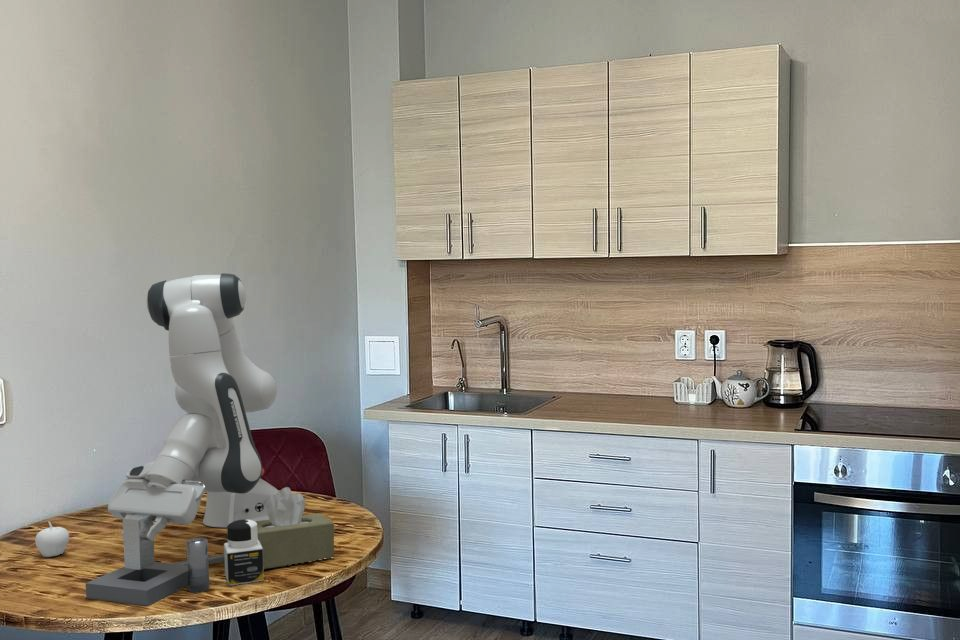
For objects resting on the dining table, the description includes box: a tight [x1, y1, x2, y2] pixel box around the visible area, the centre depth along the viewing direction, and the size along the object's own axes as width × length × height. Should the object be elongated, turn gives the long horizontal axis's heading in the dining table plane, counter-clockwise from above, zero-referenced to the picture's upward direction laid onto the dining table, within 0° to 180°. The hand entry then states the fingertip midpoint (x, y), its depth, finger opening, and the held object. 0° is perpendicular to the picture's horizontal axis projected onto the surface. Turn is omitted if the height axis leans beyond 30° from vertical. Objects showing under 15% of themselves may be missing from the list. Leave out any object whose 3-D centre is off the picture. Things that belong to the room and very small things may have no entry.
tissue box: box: [255, 486, 335, 570], centre depth 199 cm, size 19×10×16 cm, turn 118°
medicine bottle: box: [223, 520, 265, 587], centre depth 188 cm, size 7×7×12 cm
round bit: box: [186, 537, 210, 594], centre depth 182 cm, size 4×4×10 cm
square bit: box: [122, 514, 156, 570], centre depth 182 cm, size 4×4×10 cm
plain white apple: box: [34, 520, 70, 558], centre depth 208 cm, size 7×7×8 cm
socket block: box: [85, 561, 189, 607], centre depth 183 cm, size 15×15×3 cm
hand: (136, 537), depth 182 cm, fingers closed on square bit, 4 cm apart
